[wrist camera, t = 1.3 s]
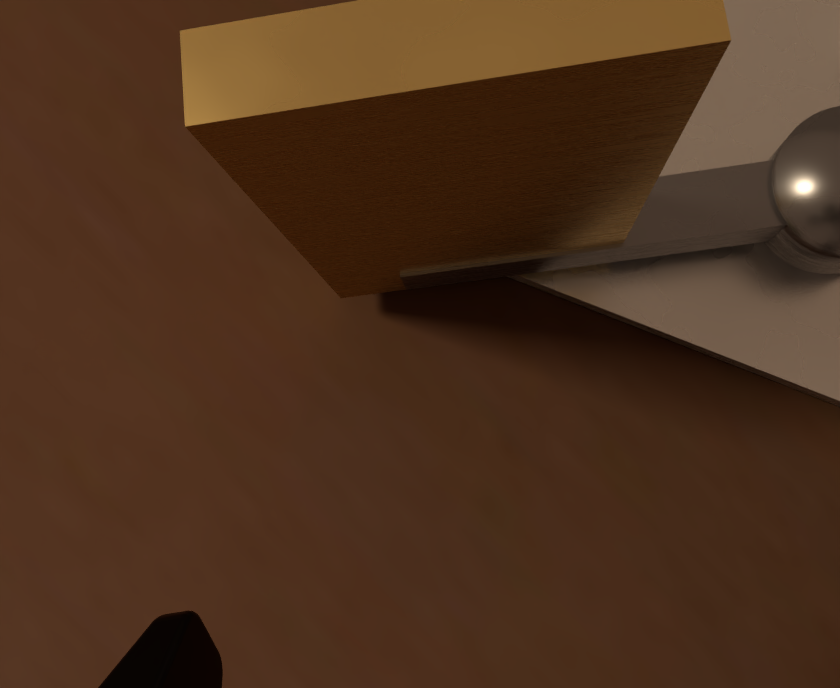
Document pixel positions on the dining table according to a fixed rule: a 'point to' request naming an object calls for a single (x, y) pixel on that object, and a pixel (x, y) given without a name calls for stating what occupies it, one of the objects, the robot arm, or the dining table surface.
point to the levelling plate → (750, 263)
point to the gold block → (494, 139)
